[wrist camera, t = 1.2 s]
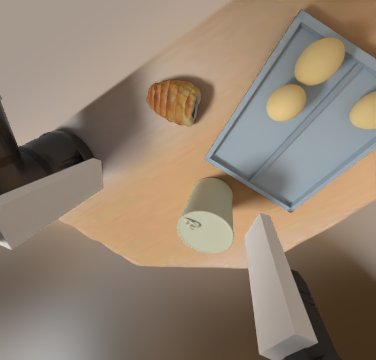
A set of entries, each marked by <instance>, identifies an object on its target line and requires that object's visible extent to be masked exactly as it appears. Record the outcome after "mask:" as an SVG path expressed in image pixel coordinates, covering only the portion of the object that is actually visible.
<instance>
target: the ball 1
mask: <svg viewBox="0 0 376 360" xmlns="http://www.w3.org/2000/svg"><path fill="white" fill-rule="evenodd" d="M305 103H306V94H305V91H304V90H303V89H302V88H301V87H300V86H298V85H294V84H288V85H284V86H282V87H280V88H278V89H276V90H275V91H274V92H273V93H272V94H271V96H270V97H269V99H268V102H267V106H266V109H267V113H268V115H269V117H270V118H271V119H273V120H275V121H279V122H283V121H288V120H291V119H293V118H294V117H296V116H297V115H298V114H299V113H300V112H301V111H302V109H303V108H304V106H305Z"/></svg>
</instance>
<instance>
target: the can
mask: <svg viewBox="0 0 376 360" xmlns="http://www.w3.org/2000/svg"><path fill="white" fill-rule="evenodd" d="M232 200H233V193H232V190H231V188H230V187H229V185H228V184H227V183H225V182H224V181H222V180H220V179H218V178H211V177H210V178H204V179H201V180H199V181H198V182H197V183H196V184H195V185H194V187H193V189H192V193H191V195H190V198H189V200H188V202H187V205H186V207H185V209H184V212H183V214H182V216H181V218H180V220H179V222H178V225H177V231H178V234H179V236H180V238H181V240H182V241H183V242H184V243H185V244H186V245H187V246H189V247H190V248H192V249H194V250H196V251H199V252H202V253H209V254H213V253H219V252H222V251H225V250H226V249H228V248H229V247H230V246H231V244H232V243H233V240H234V232H233V215H232Z"/></svg>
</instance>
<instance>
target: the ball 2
mask: <svg viewBox="0 0 376 360" xmlns="http://www.w3.org/2000/svg"><path fill="white" fill-rule="evenodd" d="M344 56H345V47H344V45H343V43H342V42H341V41H340V40H339V39H337V38H333V37H327V38H322V39H320V40H317V41H315V42H314V43H312V44H311V45H309V46H308V47H307V48H306V49H305V50H304V51H303V52H302V53H301V55H300V56H299V58H298V60H297V62H296V65H295V70H294V73H295V77H296V79H297V81H298V82H299V83H301V84H303V85H306V86H312V85H317V84H320V83H322V82H324V81H326V80H327V79H329V78H330V77H331V76H332V75H334V73H335V72H336V71H337V70H338V69H339V67H340V66H341V64H342V62H343V60H344Z"/></svg>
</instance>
